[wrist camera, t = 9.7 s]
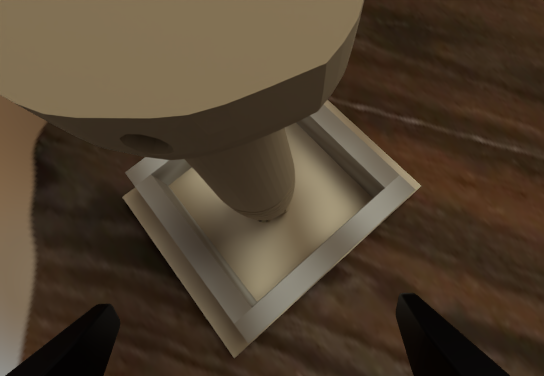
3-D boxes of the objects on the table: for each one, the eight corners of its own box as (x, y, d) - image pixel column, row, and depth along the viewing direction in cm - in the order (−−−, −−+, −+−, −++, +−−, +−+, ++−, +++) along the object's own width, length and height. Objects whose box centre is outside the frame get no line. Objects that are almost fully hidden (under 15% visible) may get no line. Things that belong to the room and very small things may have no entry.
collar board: (237, 353, 17) (224, 374, 14) (130, 200, 20) (98, 187, 17) (414, 189, 19) (441, 173, 16) (291, 75, 22) (292, 42, 19)
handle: (314, 238, 17) (374, 120, 3) (217, 232, 18) (-98, 116, 4) (316, 167, 19) (364, -151, 4) (225, 165, 19) (12, -114, 5)
